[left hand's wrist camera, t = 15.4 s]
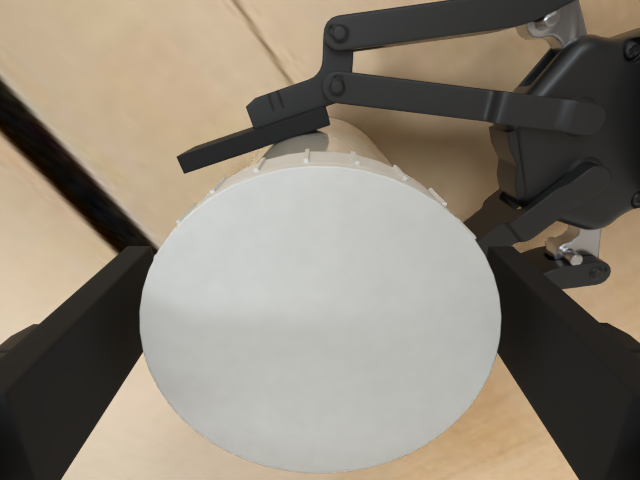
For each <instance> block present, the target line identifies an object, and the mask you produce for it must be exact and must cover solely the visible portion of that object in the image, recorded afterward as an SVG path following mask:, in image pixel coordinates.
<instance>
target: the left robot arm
mask: <svg viewBox="0 0 640 480" xmlns="http://www.w3.org/2000/svg"><path fill="white" fill-rule="evenodd" d="M486 259H487V261H488V263H489V265H490V268H491V270H492V272H493V274H494V278H495V282H496V285H497V289H498V293H499V299H500V308H501V331H500V340H499V345H498V350H497V353H498V354H499V356H500V357H501V359H502V361H503V362H504V364H505V365H506V367H507V368H508V370H509V371H510V373H511V375H512V376H513V378H514V379H515V381H516V382H517V384H518V385H519V387H520V389H521V390H522V392H523V393H524V395H525V396H526V398H527V399H528V401H529V403H530V404H531V406H532V407H533V409H534V410H535V412H536V413H537V415H538V416H539V418H540V420H541V421H542V423H543V424H544V426H545V427H546V429H547V430H548V432H549V434H550V435H551V437H552V438H553V440H554V441H555V443H556V444H557V446H558V448H559V449H560V451H561V452H562V454H563V455H564V457H565V458H566V460H567V462H568V463H569V465H570V466H571V468H572V469H573V471H574V472H575V474H576V476H577V477H578V479H579V480H640V343H639V342H638V341H636V340H635V339H634V338H633V337H632V336H630V335H629V334H627V333H625V332H623V331H621V330H620V329H618V328H616V327H614V326H612V325H610V324H608V323H599V322H598V321H597V320H595V319H594V318H593V317H592V316H591V315H590V314H589V313H587V312H586V311H585V310H584V309H583V308H582V307H581V306H580V305H578V304H577V303H576V302H575V301H574V300H573V299H572V298H570V297H569V296H568V295H567V294H566V293H565V292H564V291H563V290H561V289H560V288H559V287H558V286H557V285H556V284H555V283H553V282H552V281H551V280H550V279H549V278H548V277H547V276H545V275H544V274H543V273H542V272H541V271H540V270H539V269H538V268H536V267H535V266H534V265H533V264H532V263H531V262H530V261H528V260H527V259H526V258H525V257H524V256H523V255H522V254H521V253H519V252H518V251H517V250H516V249H515V248H514V247H513V246H488V252H487V258H486ZM153 261H154V258H153V252H152V246H127V247H126V248H125V249H124V250H123V251H122V252H121V253H119V254H118V255H117V256H116V257H115V258H114V259H113V260H112V261H110V262H109V263H108V264H107V265H106V266H105V267H104V268H102V269H101V270H100V271H99V272H98V273H97V274H96V275H95V276H93V277H92V278H91V279H90V280H89V281H88V282H87V283H85V284H84V285H83V286H82V287H81V288H80V289H79V290H77V291H76V292H75V293H74V294H73V295H72V296H71V297H70V298H68V299H67V300H66V301H65V302H64V303H63V304H62V305H60V306H59V307H58V308H57V309H56V310H55V311H54V312H53V313H51V314H50V315H49V316H48V317H47V318H46V319H45V320H43V321H42V322H41V323H40V324H33V325H31V326H29V327H27V328H25V329H24V330H22V331H20V332H18V333H16V334H14V335H12V336H11V337H9V338H8V339H7V340H6V341H5V342H4V343H2V344H1V345H0V480H61V479H62V477H63V476H64V474H65V472H66V471H67V469H68V468H69V466H70V465H71V463H72V462H73V460H74V458H75V457H76V455H77V454H78V452H79V451H80V449H81V448H82V446H83V444H84V443H85V441H86V440H87V438H88V437H89V435H90V434H91V432H92V430H93V429H94V427H95V426H96V424H97V423H98V421H99V420H100V418H101V416H102V415H103V413H104V412H105V410H106V409H107V407H108V406H109V404H110V403H111V401H112V399H113V398H114V396H115V395H116V393H117V392H118V390H119V389H120V387H121V385H122V384H123V382H124V381H125V379H126V378H127V376H128V375H129V373H130V371H131V370H132V368H133V367H134V365H135V364H136V362H137V361H138V359H139V357H140V356H141V354H142V353H143V347H142V341H141V335H140V305H141V298H142V291H143V287H144V284H145V281H146V278H147V274H148V271H149V269H150V267H151V265H152V263H153Z"/></svg>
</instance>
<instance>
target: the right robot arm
mask: <svg viewBox="0 0 640 480" xmlns="http://www.w3.org/2000/svg"><path fill="white" fill-rule="evenodd" d="M513 27H516V29H517V32H518V34H519V36H520V37H521V38H523V39H525V40H532V39H538V38H542V39H544V40H546V41H547V42H548V43H549V45H550V47H551V48H550V49H549V50H548V51H547V53H546V54H545V55H544V56H543V57H542V58H541V60H540V61H539V62H538V63H537V64H536V65H535V67H534V68H533V69H532V70H531V71H530V73H529V74H528V75H527V76H526V77H525V78H524V80H523V81H522V82H521V83H520V84H519V86H518V87H517V88H516V89H515V90H514V91H513V92H505V91H496V90H487V89H479V88H471V87H463V86H455V85H447V84H440V83H432V82H424V81H416V80H408V79H400V78H392V77H384V76H376V75H368V74H360V73H352V66H353V52H356V51H363V50H371V49H378V48H386V47H393V46H400V45H408V44H415V43H422V42H430V41H437V40H445V39H452V38H459V37H467V36H474V35H481V34H488V33H493V32H497V31H501V30H505V29H509V28H513ZM335 103H340V104H348V105H356V106H365V107H373V108H381V109H389V110H397V111H405V112H413V113H422V114H430V115H438V116H446V117H454V118H462V119H470V120H479V121H486V122H492V123H494V125H493V126H490V127H489V130H490V136H491V142H492V145H493V147H494V149H495V151H496V153H497V155H498V157H499V160H498V169H497V178H498V184H499V190H497V191H496V192H495V193H493V194H492V195H491V196H490V197H488V198H487V199H486V200H485V202H484V203H483V207H482V208H481V209H480V210H479V211H478V212H476V213H475V214H474V215H472V216H471V217H470V218H469V219H467V220H466V221H465V222H463V224H464V225H465V226H466V227H467V228H468V229H469V230H470V231H471V232H472V233H473V234H474V235H475V236H476V239H475V241H476V242H477V244H478V245H479V247H480V248H481V250H482V251H483V253H484V254H485V257H486V258H487V252H488V246H512V245H513V244H515V243H517V242H525V241H528V240H530V239H532V238H533V237H535V236H536V235H538V234H539V233H540V232H542V231H543V230H544V229H546V228H547V227H549V226H550V225H551V224H553V223H554V222H555V221H560V222H563V223H566V224H569V227H568V229H567V230H566V231H565V232H564V233H563V234H562V235H560V236H558V237H549V238H547V239H546V241H545V246H543V247H538V248H534V249H531V250H528V251H525V252H523V253H521V254H522V255H523V256H524V257H525V258H526V259H527V260H528V261H530V262H531V263H532V264H533V265H534V266H535V267H536V268H538V269H539V270H540V271H541V272H542V273H543V274H544V275H545V276H547V277H548V278H549V279H550V280H551V281H552V282H553V283H555V284H556V285H557V286H558V287H559V288H560V289H567V288H575V287H582V286H590V285H597V284H600V283H602V282H604V281H605V280H606V279H607V278H608V277H609V275H610V272H611V270H610V267H609V265H608V264H607V263H605V262H604V261H602V260H601V259H599V258H598V255H599V245H600V235H601V228H603V227H606V226H608V225H609V224H611V223H612V222H613V221H614V220H616V219H617V218H618V217H620V216H621V215H622V214H624V213H626V212H628V211H630V210H632V209H635V208H640V28H637V29H634V30H631V31H628V32H625V33H622V34H619V35H616V36H613V37H610V38H605V37H600V36H597V35H587V32H586V28H585V24H584V20H583V16H582V12H581V8H580V4H579V0H446V1H439V2H432V3H425V4H418V5H411V6H403V7H396V8H389V9H382V10H375V11H368V12H361V13H353V14H346V15H339V16H336V17H333V18H331V19H330V20H329V21H328V22H327V24H326V26H325V28H324V36H323V61H322V66H321V69H320V71H319V72H318V74H317V75H315V76H314V77H313V78H311V79H309V80H306V81H303V82H300V83H298V84H295V85H292V86H289V87H286V88H283V89H280V90H277V91H275V92H272V93H269V94H266V95H263V96H260V97H257V98H255V99H254V100H253V101H252V102H251V103H250V104H249V105H247V106H246V108H247V111H248V114H249V117H250V119H251V122H252V125H253V127H251V128H248V129H245V130H242V131H239V132H236V133H234V134H231V135H228V136H225V137H222V138H219V139H216V140H213V141H210V142H207V143H204V144H201V145H198V146H195V147H193V148H191V149H190V150H188V151H186V152H184V153H182V154H181V155H179V156H177V159H178V161H179V163H180V166H181V168H182V170H183V172H184V174H185V173H188V172H191V171H194V170H197V169H200V168H203V167H206V166H209V165H212V164H215V163H218V162H221V161H224V160H227V159H230V158H233V157H236V156H239V155H242V154H245V153H248V152H251V151H254V150H257V149H260V148H263V147H266V146H269V145H272V144H275V143H278V142H281V141H284V140H287V139H290V138H293V137H296V136H299V135H302V134H305V133H308V132H311V131H314V130H317V129H320V128H323V127H326V126H329V125H330V120H329V116H328V113H327V110H326V106H329V105H332V104H335ZM519 206H520V207H521V209H518V210H517V208H518V207H519Z"/></svg>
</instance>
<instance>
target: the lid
mask: <svg viewBox="0 0 640 480" xmlns="http://www.w3.org/2000/svg"><path fill="white" fill-rule="evenodd" d="M446 206H447V203H446V202H445V201H444V200H443V199H442V198H441V197H440V196H439V195H438V194H437V193H436V192H435V191H434V190H433V189H432V188H431V187H430V188H429V189H426V188H425V187H424V186H423V185H422V184H420V183H419V182H418V181H416V180H414V179H413V178H411V177H410V176H408V175H406V174H405V173H403V172H402V171H401V169H400V168H399V167H398V166H397V165H393V167H391V166H389V165H386V164H384V163H382V162H379V161H376V160H372V159H369V158H365V157H362V156H359V155H356V153H355V152H354V151H351V154H346V153H339V152H314V151H311V152H310V149H305V152H303V153H294V154H287V155H283V156H279V157H275V158H271V159H267V160H266V159H265V157H264V158H261V159H260V161H259V162H258V163H257V164H255V165H252V166H250V167H247V168H245V169H243V170H241V171H240V172H238V173H236V174H234V175H233V176H231V177H229V178H226V176H225V177H223V178H222V179H221V180H220V181H219V182H218V183H217V184H216V185H215V186H214V187H213V188H212V189H211V190H210V192H209V193H208V194H207V195H206V196H205V197H204V198H203V199H202V200H201V201H200V202H199V203H198V204H197V206H196V205H195V204H193V205H192V206H191V207H190V208H189V209H188V210H187V211H186V212H185V213H184V214H183V215H182V216H181V217H180V218H179V219H178V220H177V221H176V223H177V224H178V225H177V226H176V227H175V228H174V229H173V230H172V232H171V233H170V235H169V236H168V237H167V239H166V240H165V242H164V243H163V245H162V246H161V247H160V249H159V250H158V252H157V254H156V255H155V256H154V261H153V263H152V265H151V267H150V269H149V271H148V274H147V278H146V281H145V284H144V287H143V291H142V298H141V305H140V335H141V341H142V347H143V352H144V355H145V358H146V361H147V365H148V368H149V371H150V373H151V375H152V377H153V379H154V381H155V383H156V385H157V387H158V389H159V390H160V392H161V393H162V394H163V396H164V397H165V399H166V400H167V402H168V403H169V405H170V406H171V407H172V408H173V409H174V410H175V412H176V413H177V414H178V415H179V416H180V417H181V418H182V419H183V420H184V421H185V422H186V423H187V424H188V425H189V426H190V427H192V428H193V429H194V430H195V431H196V432H197V433H199V434H200V435H202V436H203V437H204V438H206V439H207V440H209V441H210V442H212V443H213V444H215V445H217V446H218V447H220V448H222V449H224V450H226V451H227V452H229V453H231V454H234V455H236V456H238V457H241V458H243V459H245V460H248V461H251V462H254V463H257V464H260V465H263V466H267V467H271V468H276V469H281V470H286V471H293V472H302V473H338V472H349V471H354V470H360V469H365V468H370V467H373V466H377V465H380V464H384V463H387V462H390V461H392V460H395V459H397V458H400V457H403V456H405V455H407V454H409V453H411V452H413V451H415V450H417V449H419V448H421V447H423V446H424V445H426V444H427V443H429V442H430V441H432V440H433V439H435V438H436V437H438V436H439V435H441V434H442V433H443V432H444V431H445V430H447V429H448V428H449V427H450V426H451V425H453V424H454V423H455V422H456V421H457V420H458V419H459V418H460V417H461V415H462V414H463V413H464V412H465V411H466V410H467V409H468V408H469V407H470V405H471V404H472V402H473V401H474V400H475V398H476V397H477V396H478V394H479V393H480V391H481V389H482V387H483V386H484V384H485V382H486V380H487V378H488V376H489V374H490V372H491V369H492V366H493V363H494V361H495V358H496V355H497V350H498V345H499V340H500V331H501V308H500V299H499V293H498V289H497V285H496V282H495V278H494V274H493V272H492V270H491V268H490V265H489V263H488V261H487V259H486V257H485V254H484V253H483V251H482V250H481V248H480V247H479V245H478V244H477V242H476V241H475V239H476V236H475V235H474V234H473V233H472V232H471V231H470V230H469V229H468V228H467V227H466V226H465V225H464V224H463V223H462V222H461V221H460V220H459V219H458V218H456V217H455V216H454V215H453V214H452V213H451V212H450V211H449V210H448V209H447V207H446Z"/></svg>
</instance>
